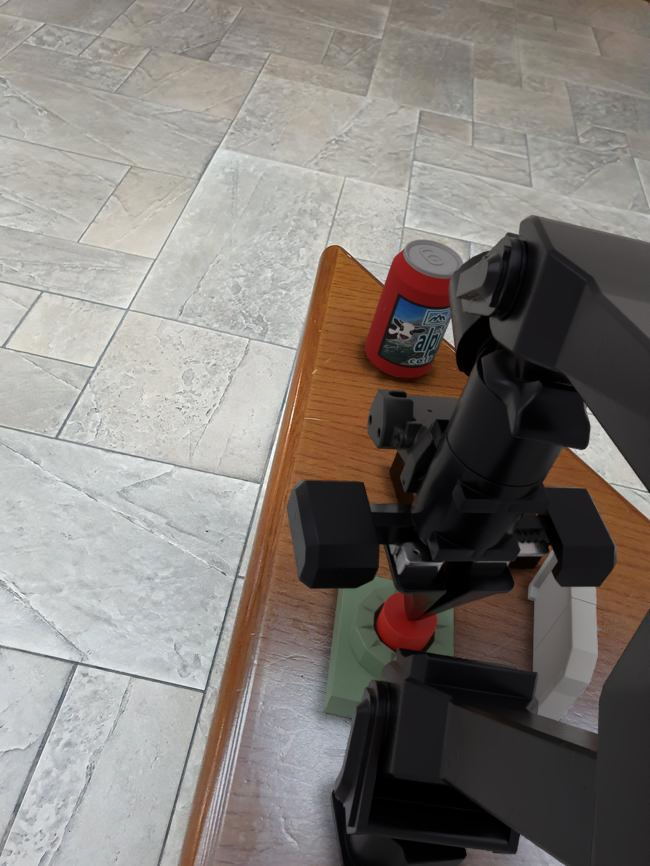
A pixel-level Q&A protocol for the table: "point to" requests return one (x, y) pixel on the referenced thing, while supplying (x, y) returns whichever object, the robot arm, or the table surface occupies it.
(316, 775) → the table surface
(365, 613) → the switch block
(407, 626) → the light button
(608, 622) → the table surface
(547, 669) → the light switch
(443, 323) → the beverage can
